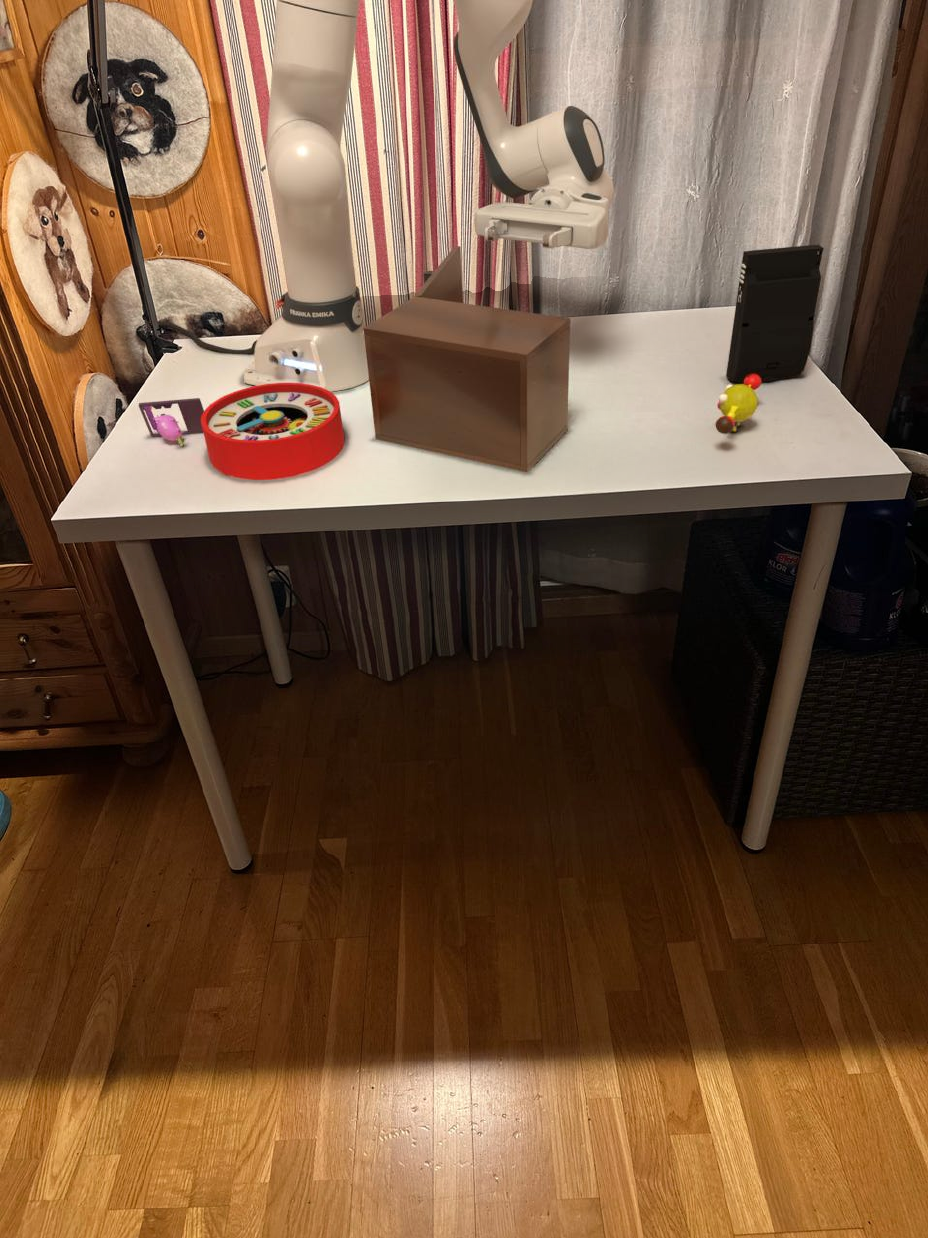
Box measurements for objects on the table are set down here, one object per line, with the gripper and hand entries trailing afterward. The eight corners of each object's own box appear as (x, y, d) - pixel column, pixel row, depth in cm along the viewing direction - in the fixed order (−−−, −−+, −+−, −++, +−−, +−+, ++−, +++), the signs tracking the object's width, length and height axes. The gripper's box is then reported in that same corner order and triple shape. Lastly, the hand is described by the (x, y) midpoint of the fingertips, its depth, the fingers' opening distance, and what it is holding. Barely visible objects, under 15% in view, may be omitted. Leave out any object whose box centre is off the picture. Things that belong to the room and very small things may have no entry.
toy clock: (367, 408, 133) (248, 457, 122) (371, 445, 136) (256, 495, 126) (289, 371, 145) (175, 412, 135) (295, 406, 148) (184, 448, 138)
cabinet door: (390, 397, 149) (380, 294, 139) (431, 340, 168) (424, 245, 158) (428, 400, 148) (420, 295, 137) (464, 341, 167) (460, 245, 156)
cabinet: (423, 402, 147) (415, 296, 137) (567, 431, 137) (570, 318, 127) (375, 439, 138) (363, 328, 127) (527, 473, 128) (526, 354, 117)
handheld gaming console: (794, 369, 151) (817, 243, 139) (806, 381, 147) (831, 251, 135) (723, 377, 150) (740, 250, 138) (733, 388, 146) (752, 259, 134)
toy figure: (730, 401, 143) (736, 359, 139) (767, 407, 141) (774, 364, 136) (697, 452, 130) (703, 407, 126) (736, 459, 128) (743, 414, 124)
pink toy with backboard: (199, 394, 137) (138, 399, 137) (198, 419, 134) (135, 424, 134) (210, 426, 143) (152, 431, 142) (209, 451, 140) (149, 456, 140)
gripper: (496, 187, 146) (454, 209, 136) (618, 199, 138) (582, 222, 128) (497, 229, 150) (456, 253, 140) (616, 243, 142) (580, 269, 132)
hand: (517, 238), depth 134 cm, fingers open, 8 cm apart
